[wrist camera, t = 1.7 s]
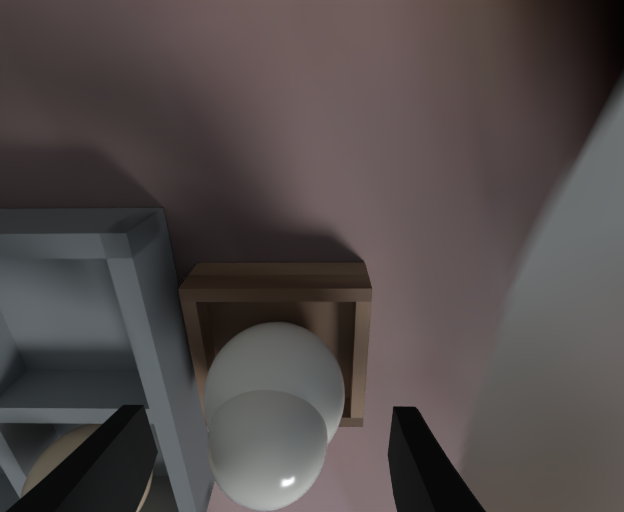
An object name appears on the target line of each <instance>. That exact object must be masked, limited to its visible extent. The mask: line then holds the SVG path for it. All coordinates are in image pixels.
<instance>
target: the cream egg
mask: <svg viewBox="0 0 624 512" xmlns="http://www.w3.org/2000/svg"><path fill="white" fill-rule="evenodd" d="M344 401H345V389H344V381H343V376H342V372H341V369H340V366H339V364H338V362H337V359H336V358H335V356H334V354H333V353H332V351H331V350H330V348H329V347H328V346H327V345H326V343H325V342H324V341H322V340H321V339H320V338H319V337H318V336H317V335H315V334H314V333H313V332H311V331H309V330H307V329H306V328H303V327H301V326H298V325H295V324H293V323H289V322H268V323H262V324H258V325H255V326H252V327H250V328H247V329H246V330H244V331H242V332H240V333H239V334H237V335H236V336H235V337H233V338H232V339H231V340H230V341H229V342H227V344H226V345H225V346H224V347H223V348H222V349H221V350H220V352H219V353H218V355H217V356H216V357H215V359H214V361H213V363H212V365H211V367H210V369H209V371H208V375H207V378H206V382H205V386H204V394H203V408H204V415H205V420H206V424H207V427H208V429H209V432H208V440H207V455H208V461H209V466H210V469H211V472H212V475H213V477H214V479H215V481H216V483H217V484H218V486H219V488H220V489H221V490H222V491H223V492H224V493H225V494H226V496H227V497H228V498H230V499H231V500H232V501H234V502H235V503H237V504H239V505H240V506H242V507H245V508H248V509H251V510H257V511H271V510H276V509H280V508H283V507H285V506H288V505H290V504H292V503H293V502H295V501H296V500H298V499H299V498H301V497H302V496H303V495H304V494H305V493H306V492H307V491H308V490H309V489H310V487H311V486H312V485H313V483H314V482H315V481H316V479H317V477H318V475H319V473H320V471H321V469H322V467H323V464H324V461H325V457H326V452H327V445H328V444H329V442H330V441H331V440H332V438H333V436H334V434H335V432H336V430H337V428H338V426H339V423H340V420H341V417H342V414H343V409H344Z"/></svg>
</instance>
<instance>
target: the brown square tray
mask: <svg viewBox="0 0 624 512" xmlns="http://www.w3.org/2000/svg"><path fill="white" fill-rule="evenodd" d="M178 291H179V296H180V301H181V306H182V311H183V316H184V321H185V326H186V331H187V336H188V341H189V346H190V351H191V356H192V361H193V366H194V371H195V376H196V381H197V386H198V391H199V396H200V401H201V406H202V411H203V416H204V421H205V426H207V424H206V420H205V415H204V408H203V394H204V386H205V382H206V378H207V375H208V371H209V369H210V367H211V365H212V363H213V361H214V359H215V357H216V356H217V355H218V353H219V352H220V350H221V349H222V348H223V347H224V346H225V345H226V344H227V342H229V341H230V340H231V339H232V338H233V337H235V336H236V335H237V334H239V333H240V332H242V331H244V330H246V329H247V328H250V327H252V326H255V325H258V324H262V323H268V322H289V323H293V324H295V325H298V326H301V327H303V328H306V329H307V330H309V331H311V332H313V333H314V334H315V335H317V336H318V337H319V338H320V339H321V340H322V341H324V342H325V343H326V345H327V346H328V347H329V348H330V350H331V351H332V353H333V354H334V356H335V358H336V359H337V362H338V364H339V366H340V369H341V372H342V376H343V381H344V389H345V401H344V409H343V414H342V417H341V420H340V423H339V426H338V427H363V417H364V402H365V387H366V373H367V358H368V343H369V328H370V313H371V299H372V286H371V283H370V279H369V275H368V272H367V268H366V265H365V262H296V263H197V264H196V266H195V267H194V268H193V270H192V271H191V272H190V274H189V275H188V276H187V278H186V279H185V280H184V282H183V283H182V284H181V286H180V287H179V288H178Z"/></svg>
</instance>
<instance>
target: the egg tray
mask: <svg viewBox="0 0 624 512" xmlns="http://www.w3.org/2000/svg"><path fill="white" fill-rule="evenodd" d="M178 288H179V284H178V279H177V274H176V269H175V264H174V259H173V254H172V249H171V244H170V239H169V234H168V229H167V224H166V219H165V214H164V209H163V208H33V209H0V512H6V511H7V510H8V509H9V508H10V507H11V506H13V505H14V504H15V503H16V502H17V501H18V500H19V499H20V497H21V492H22V488H23V485H24V483H25V480H26V478H27V476H28V474H29V472H30V470H31V468H32V466H33V465H34V464H35V462H36V461H37V459H38V458H39V457H40V456H41V454H42V453H43V452H44V451H45V450H46V449H47V448H48V447H49V446H50V445H51V444H52V443H53V442H55V441H56V440H57V439H59V438H60V437H61V436H63V435H64V434H66V433H68V432H70V431H71V430H73V429H75V428H78V427H80V426H83V425H86V424H103V423H104V422H105V421H106V420H107V419H108V418H109V417H110V416H111V415H113V414H114V413H115V412H116V411H117V410H118V409H119V408H120V407H121V406H122V405H144V407H145V410H146V414H147V417H148V420H149V424H150V427H151V430H152V434H153V437H154V440H155V444H156V447H157V450H158V454H157V457H156V460H155V464H154V467H153V475H152V481H151V486H150V490H149V492H148V495H147V498H146V500H145V502H144V504H143V506H142V508H141V509H140V511H139V512H206V511H207V507H208V504H209V500H210V496H211V493H212V489H213V485H214V482H215V479H214V477H213V475H212V472H211V469H210V466H209V461H208V455H207V440H208V431H207V426H205V421H204V416H203V411H202V406H201V401H200V396H199V391H198V386H197V381H196V376H195V371H194V366H193V361H192V356H191V351H190V346H189V341H188V336H187V331H186V326H185V321H184V316H183V311H182V306H181V301H180V296H179V291H178Z"/></svg>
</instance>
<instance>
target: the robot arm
mask: <svg viewBox="0 0 624 512" xmlns="http://www.w3.org/2000/svg"><path fill="white" fill-rule="evenodd" d="M157 454H158V450H157V447H156V444H155V440H154V437H153V434H152V430H151V427H150V424H149V420H148V417H147V414H146V410H145V407H144V405H122V406H121V407H120V408H119V409H118V410H117V411H116V412H115V413H114V414H113V415H111V416H110V417H109V418H108V419H107V420H106V421H105V422H104V423H103V424H102V425H101V426H100V427H99V428H98V429H97V430H95V431H94V432H93V433H92V434H91V435H90V436H89V437H88V438H87V439H86V440H85V441H84V442H83V443H82V444H81V445H80V446H78V447H77V448H76V449H75V450H74V451H73V452H72V453H71V454H70V455H69V456H68V457H67V458H65V459H64V460H63V461H62V462H61V463H60V464H59V465H58V466H57V467H56V468H55V469H53V470H52V471H51V472H50V473H49V474H48V475H47V476H46V477H45V478H44V479H43V480H41V481H40V482H39V483H38V484H37V485H36V486H34V487H33V488H32V489H31V490H30V491H29V492H28V493H26V494H25V495H24V496H23V497H22V498H21V499H19V500H18V501H17V502H16V503H15V504H14V505H13V506H11V507H10V508H9V509H8V510H7V511H6V512H136V511H137V509H138V506H139V504H140V502H141V500H142V497H143V495H144V493H145V490H146V487H147V485H148V482H149V479H150V476H151V473H152V470H153V467H154V464H155V460H156V457H157ZM388 460H389V467H390V475H391V482H392V488H393V495H394V499H395V504H396V508H397V512H486V511H485V510H484V509H483V507H482V506H481V505H480V503H479V502H478V500H477V499H476V498H475V496H474V495H473V494H472V492H471V491H470V490H469V488H468V487H467V485H466V484H465V482H464V481H463V479H462V478H461V476H460V475H459V473H458V472H457V471H456V469H455V468H454V466H453V465H452V463H451V462H450V460H449V459H448V457H447V456H446V454H445V453H444V451H443V450H442V448H441V446H440V445H439V443H438V442H437V440H436V439H435V437H434V435H433V434H432V432H431V430H430V429H429V427H428V426H427V424H426V422H425V420H424V419H423V417H422V415H421V413H420V412H419V410H418V409H417V408H416V407H395V406H393V415H392V423H391V432H390V440H389V449H388Z"/></svg>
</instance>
